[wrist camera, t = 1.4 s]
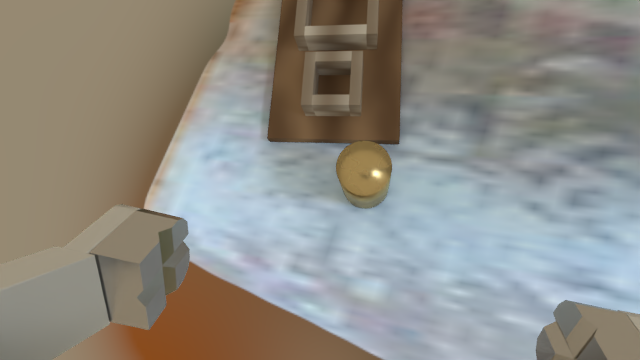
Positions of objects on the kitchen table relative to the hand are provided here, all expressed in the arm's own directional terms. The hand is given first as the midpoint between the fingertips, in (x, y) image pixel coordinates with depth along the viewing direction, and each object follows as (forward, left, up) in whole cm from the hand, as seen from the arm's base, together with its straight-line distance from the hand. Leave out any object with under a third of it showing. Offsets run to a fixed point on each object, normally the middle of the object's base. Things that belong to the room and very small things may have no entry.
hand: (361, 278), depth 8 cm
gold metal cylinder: (+1, -9, -32) cm, 33 cm away
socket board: (+5, -25, -32) cm, 41 cm away
